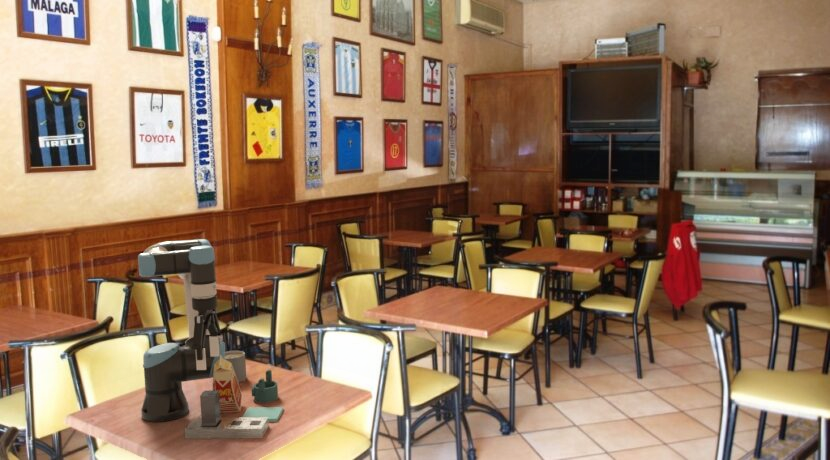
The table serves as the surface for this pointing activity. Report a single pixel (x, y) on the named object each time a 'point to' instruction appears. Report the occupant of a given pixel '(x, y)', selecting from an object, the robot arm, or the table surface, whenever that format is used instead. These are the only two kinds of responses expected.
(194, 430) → the rail
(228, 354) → the coffee mug
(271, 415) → the teal pad
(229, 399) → the milk carton
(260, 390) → the bracket
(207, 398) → the grey rectangular block
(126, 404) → the table surface
